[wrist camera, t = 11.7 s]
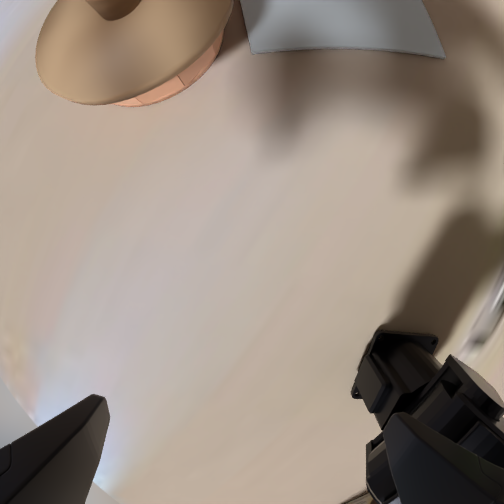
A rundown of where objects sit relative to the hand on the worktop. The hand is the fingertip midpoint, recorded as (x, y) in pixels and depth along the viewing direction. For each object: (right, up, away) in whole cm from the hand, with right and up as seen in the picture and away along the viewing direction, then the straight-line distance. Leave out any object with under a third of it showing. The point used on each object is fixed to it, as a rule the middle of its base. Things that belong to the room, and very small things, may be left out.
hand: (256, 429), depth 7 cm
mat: (+6, +27, +7) cm, 29 cm away
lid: (-8, +20, +4) cm, 21 cm away
